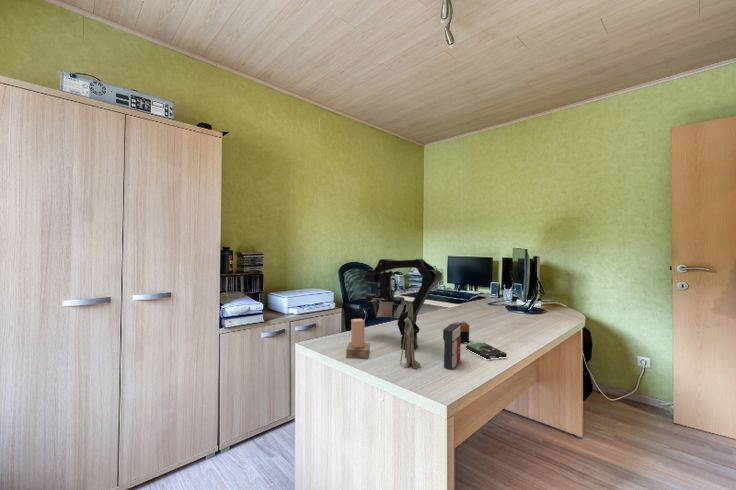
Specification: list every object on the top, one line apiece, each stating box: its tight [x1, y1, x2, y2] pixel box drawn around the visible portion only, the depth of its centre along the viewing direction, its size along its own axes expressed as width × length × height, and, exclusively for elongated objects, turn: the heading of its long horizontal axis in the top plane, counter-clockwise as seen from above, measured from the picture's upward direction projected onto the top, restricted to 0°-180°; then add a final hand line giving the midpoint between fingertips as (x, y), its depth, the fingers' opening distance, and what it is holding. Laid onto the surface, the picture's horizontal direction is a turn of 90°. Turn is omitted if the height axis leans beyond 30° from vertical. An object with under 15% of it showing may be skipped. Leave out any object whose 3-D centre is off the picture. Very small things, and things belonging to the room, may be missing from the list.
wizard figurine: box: [399, 300, 422, 370], centre depth 121 cm, size 10×8×25 cm
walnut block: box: [345, 342, 371, 360], centre depth 131 cm, size 9×9×4 cm
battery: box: [452, 320, 470, 344], centre depth 151 cm, size 4×7×10 cm, turn 100°
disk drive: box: [465, 342, 508, 359], centre depth 136 cm, size 10×3×15 cm
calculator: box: [442, 323, 462, 370], centre depth 122 cm, size 11×4×15 cm, turn 148°
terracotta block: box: [350, 318, 366, 348], centre depth 131 cm, size 4×4×11 cm
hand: (384, 316), depth 150 cm, fingers open, 9 cm apart
